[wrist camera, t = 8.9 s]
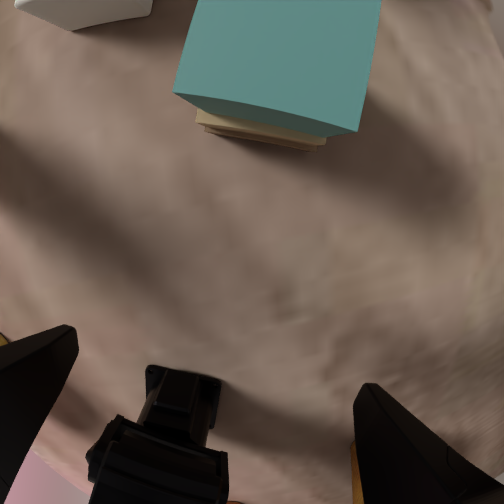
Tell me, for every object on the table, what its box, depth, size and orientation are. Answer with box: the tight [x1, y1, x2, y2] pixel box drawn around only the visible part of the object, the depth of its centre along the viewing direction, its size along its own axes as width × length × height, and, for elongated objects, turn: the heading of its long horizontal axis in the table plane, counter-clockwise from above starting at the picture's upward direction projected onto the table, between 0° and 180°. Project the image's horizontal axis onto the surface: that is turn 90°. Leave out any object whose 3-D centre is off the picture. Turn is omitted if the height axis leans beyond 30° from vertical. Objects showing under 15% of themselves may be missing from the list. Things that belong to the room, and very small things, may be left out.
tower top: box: [195, 108, 327, 146], centre depth 13 cm, size 6×6×4 cm
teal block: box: [172, 0, 381, 138], centre depth 9 cm, size 5×5×5 cm
